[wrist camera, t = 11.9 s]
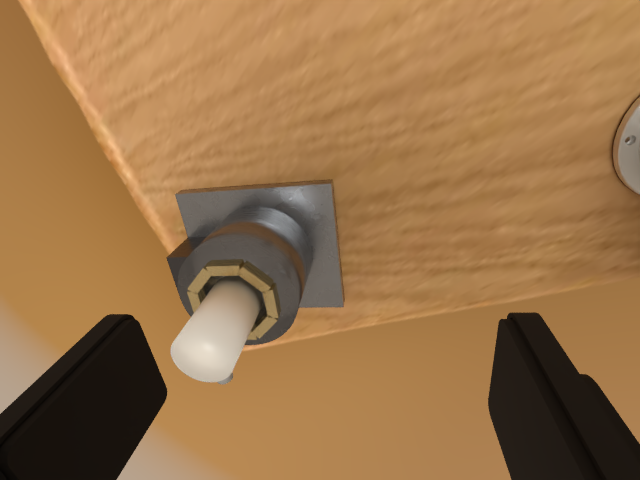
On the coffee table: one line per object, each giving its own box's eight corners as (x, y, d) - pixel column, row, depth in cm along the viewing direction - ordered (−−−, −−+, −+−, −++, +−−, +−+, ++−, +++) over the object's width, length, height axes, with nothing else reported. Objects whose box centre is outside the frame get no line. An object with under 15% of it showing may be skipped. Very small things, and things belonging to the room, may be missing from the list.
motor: (332, 179, 38) (316, 221, 28) (344, 299, 45) (335, 369, 35) (181, 190, 41) (116, 231, 31) (214, 301, 48) (170, 366, 38)
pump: (257, 274, 32) (224, 333, 25) (270, 330, 35) (244, 398, 28) (207, 276, 33) (162, 333, 26) (224, 331, 36) (187, 396, 29)
